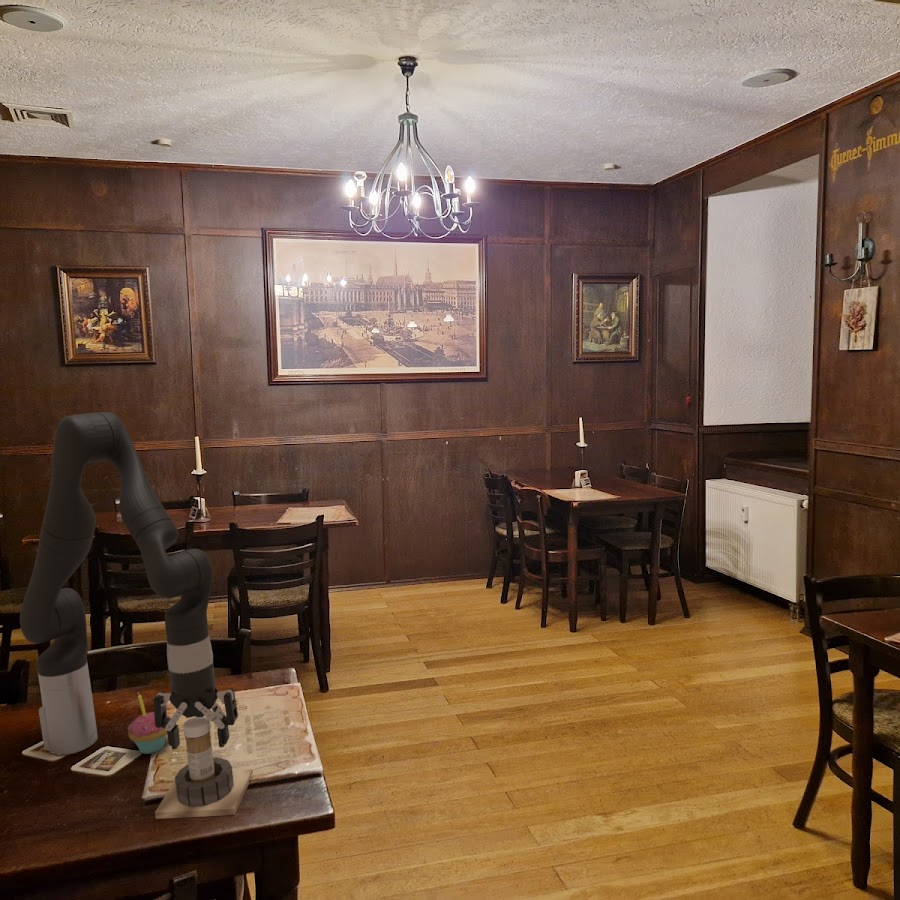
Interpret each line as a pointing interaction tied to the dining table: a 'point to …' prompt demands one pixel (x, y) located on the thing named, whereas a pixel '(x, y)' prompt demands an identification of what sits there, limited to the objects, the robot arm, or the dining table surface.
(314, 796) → the dining table surface
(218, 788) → the ring holder
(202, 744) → the sprinkles bottle
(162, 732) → the cupcake
